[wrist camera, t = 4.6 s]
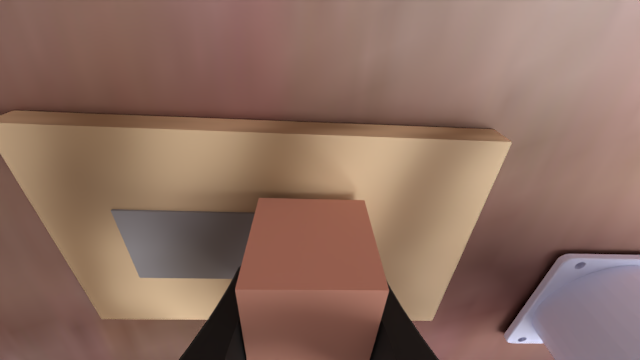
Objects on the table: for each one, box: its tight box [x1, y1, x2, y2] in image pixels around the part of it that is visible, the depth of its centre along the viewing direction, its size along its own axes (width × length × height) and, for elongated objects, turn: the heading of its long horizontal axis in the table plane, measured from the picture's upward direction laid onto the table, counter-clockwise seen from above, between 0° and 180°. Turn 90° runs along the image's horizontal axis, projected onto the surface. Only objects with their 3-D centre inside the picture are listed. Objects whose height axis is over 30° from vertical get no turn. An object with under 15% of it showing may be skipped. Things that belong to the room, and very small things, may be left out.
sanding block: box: [235, 198, 389, 360], centre depth 11 cm, size 4×6×4 cm, turn 177°
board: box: [0, 110, 512, 321], centre depth 13 cm, size 18×11×1 cm, turn 87°
